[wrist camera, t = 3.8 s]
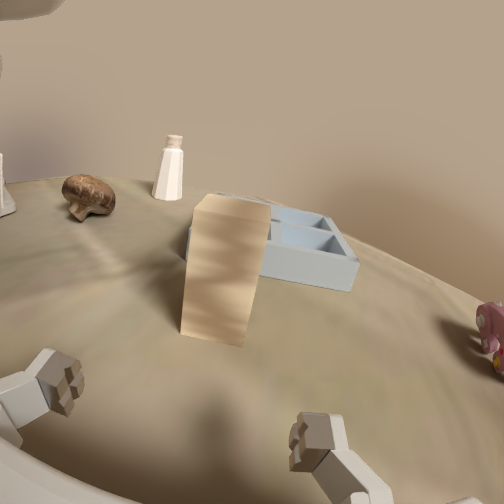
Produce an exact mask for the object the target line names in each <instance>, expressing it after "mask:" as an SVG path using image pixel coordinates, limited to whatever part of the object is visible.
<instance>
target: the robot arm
mask: <svg viewBox="0 0 504 504" xmlns="http://www.w3.org/2000/svg"><path fill="white" fill-rule="evenodd" d="M64 1H65V0H0V21H4V20H23V19H28V18H34V17H39V16H44V15H49V14H51V13H52V12H53V11H55V10H56V9H57V8H58V7H59V6H60V5H61V4H62V3H63V2H64ZM1 71H2V58H1V56H0V75H1ZM2 164H3V156H2V154H1V153H0V217H1V216H3V215H6V214H9V213H12V212H14V211H16V205H15V202H14V201H13V199H12V197H11V196H10V194H9V192H8V191H7V189H6V187H5V179H4V178H3V177H2V175H3V174H2V167H3V165H2ZM80 369H81V364H80V361H78V360H76V359H74V358H71V357H69V356H67V355H64V354H62V353H60V352H58V351H55V350H53V349H51V348H48V347H46V348H44V349H43V350H42V351H41V352H40V353H39V354H38V356H37V357H36V358H35V359H34V360H33V362H32V363H31V364H30V365H29V367H28V368H27V369H26V370H25V372H23V371H20V372H17V373H14V374H11V375H9V376H6V377H3V378H0V504H142V503H139V502H136V501H133V500H129V499H126V498H123V497H121V496H118V495H115V494H112V493H109V492H107V491H104V490H102V489H99V488H97V487H94V486H92V485H89V484H87V483H85V482H82V481H80V480H78V479H75V478H73V477H71V476H69V475H67V474H65V473H63V472H61V471H59V470H57V469H55V468H53V467H51V466H49V465H47V464H45V463H43V462H41V461H40V460H38V459H36V458H34V457H33V456H31V455H29V454H27V453H26V452H24V451H22V450H21V449H20V447H21V445H22V443H23V439H22V437H21V436H20V434H19V433H18V431H17V429H19V428H21V427H22V426H24V425H26V424H28V423H29V422H31V421H33V420H35V419H36V418H38V417H40V416H42V415H43V414H45V413H47V412H48V411H50V410H52V411H54V412H57V413H59V414H61V415H64V416H66V417H68V416H69V414H70V412H71V411H72V409H73V407H74V406H75V404H74V399H77V398H79V397H80V395H81V394H82V392H83V388H84V376H83V374H82V373H81V372H80V371H79V370H80ZM289 448H290V449H291V450H292V453H291V454H290V456H289V468H290V471H293V472H308V473H312V475H313V477H314V478H315V479H316V481H317V482H318V484H319V485H320V487H321V488H322V489H323V491H324V492H325V494H326V495H327V496H328V498H329V499H330V501H331V502H332V503H333V504H394V502H393V498H392V493H391V489H390V487H389V486H388V485H387V484H386V483H385V482H384V481H383V480H382V479H381V478H380V477H379V476H378V475H377V474H376V473H375V472H374V471H373V470H372V469H371V468H370V467H369V466H368V465H367V464H366V463H365V462H364V461H363V460H362V459H361V458H360V457H359V456H358V455H357V454H356V453H355V452H354V451H353V450H349V448H348V442H347V437H346V432H345V427H344V422H343V417H342V416H341V415H340V414H327V413H311V412H300V413H299V415H298V416H297V423H295V424H293V426H292V428H291V431H290V435H289ZM447 504H483V503H482V502H481V501H479V500H478V499H476V498H474V497H465V498H462V499H459V500H456V501H453V502H450V503H447Z"/></svg>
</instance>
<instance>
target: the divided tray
mask: <svg viewBox="0 0 504 504" xmlns="http://www.w3.org/2000/svg"><path fill="white" fill-rule="evenodd" d="M216 195H220V196H226V197H231V198H236V199H241V200H246V201H251V202H256V203H261V204H266V205H270V214H271V224H270V229H269V233H268V238H267V242H266V247H265V251H264V256H263V260H262V264H261V269H260V273H259V275H260V276H265V277H270V278H276V279H281V280H286V281H291V282H296V283H302V284H307V285H312V286H318V287H323V288H328V289H334V290H339V291H345V292H350V290H351V287H352V285H353V282H354V279H355V276H356V274H357V271H358V268H359V265H360V262H359V260H358V259H357V257H356V256H355V254H354V253H353V251H352V250H351V248H350V246H349V245H348V243H347V242H346V240H345V239H344V237H343V236H342V234H341V233H340V231H339V230H338V229H337V227H336V225H335V224H334V223H333V221H332V220H331V218H330V217H329V216H325V215H320V214H316V213H311V212H307V211H302V210H298V209H294V208H289V207H284V206H280V205H275V204H270V203H265V202H260V201H256V200H251V199H246V198H240V197H235V196H230V195H225V194H219V193H217V194H216ZM191 227H192V225H191V226H190V228H189V233H188V241H187V249H186V258H185V260H186V261H187V260H188V251H189V243H190V235H191Z"/></svg>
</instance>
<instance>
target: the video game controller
mask: <svg viewBox="0 0 504 504" xmlns="http://www.w3.org/2000/svg"><path fill="white" fill-rule="evenodd" d="M476 325H477V326H478V328H479V331H480V335H481V346H482V349H483V351H484V353H485V354H489V353H492V352H494V351H496V350H497V346H498V341H499V343H500V347H499V350H498V351H496V352H495V353H494V355H493V366H494V369H495V370H496V372H497V373H501V372H503V371H504V307H503V306H502V304H501V302H500V301H498V302H496V303H494V302H489V303H485V304H482V305H480V306H478V308H477V312H476ZM497 340H498V341H497Z"/></svg>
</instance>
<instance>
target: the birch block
mask: <svg viewBox="0 0 504 504" xmlns="http://www.w3.org/2000/svg"><path fill="white" fill-rule="evenodd" d="M270 224H271V214H270V205H266V204H261V203H256V202H251V201H246V200H241V199H236V198H231V197H226V196H220V195H215V194H210V193H208V194H207V195H206V196H205V197H204V199H203V200H202V201H201V202H200V203H199V204H198V205H197V206H196V207H195V208H194V213H193V220H192V227H191V235H190V243H189V251H188V260H187V269H186V278H185V288H184V298H183V308H182V320H181V332H180V334H183V335H187V336H191V337H196V338H200V339H205V340H210V341H214V342H219V343H224V344H229V345H235V346H240V347H242V346H243V342H244V338H245V333H246V329H247V325H248V321H249V316H250V312H251V308H252V303H253V299H254V295H255V290H256V286H257V282H258V277H259V273H260V269H261V264H262V260H263V256H264V251H265V247H266V242H267V238H268V233H269V229H270Z"/></svg>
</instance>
